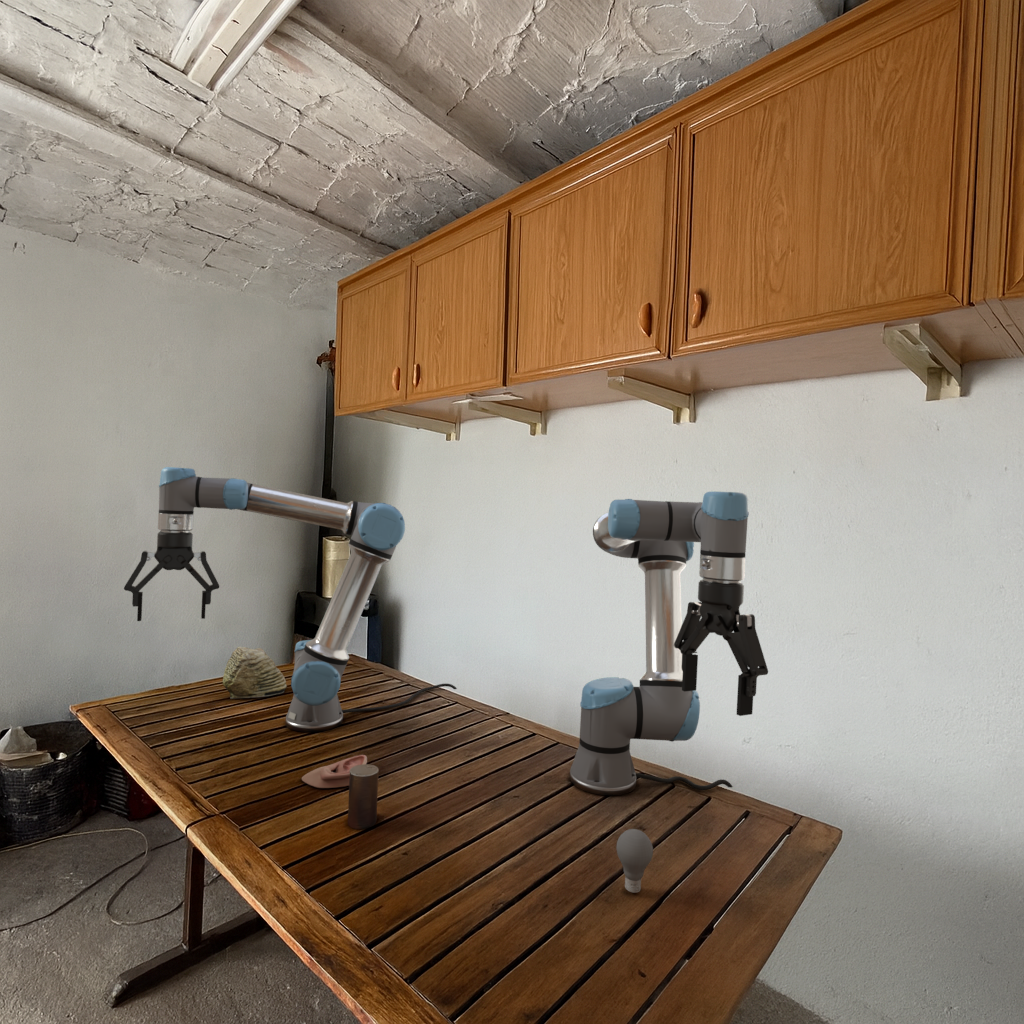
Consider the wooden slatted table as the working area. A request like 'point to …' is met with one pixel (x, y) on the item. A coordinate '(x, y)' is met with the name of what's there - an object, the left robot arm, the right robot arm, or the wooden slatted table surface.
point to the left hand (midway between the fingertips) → (171, 619)
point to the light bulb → (634, 857)
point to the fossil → (252, 674)
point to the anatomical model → (333, 773)
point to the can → (363, 796)
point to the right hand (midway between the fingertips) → (715, 701)
